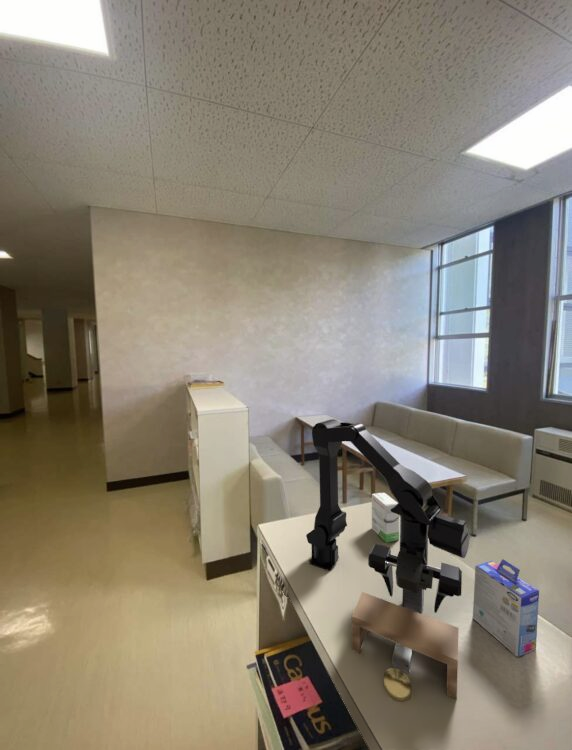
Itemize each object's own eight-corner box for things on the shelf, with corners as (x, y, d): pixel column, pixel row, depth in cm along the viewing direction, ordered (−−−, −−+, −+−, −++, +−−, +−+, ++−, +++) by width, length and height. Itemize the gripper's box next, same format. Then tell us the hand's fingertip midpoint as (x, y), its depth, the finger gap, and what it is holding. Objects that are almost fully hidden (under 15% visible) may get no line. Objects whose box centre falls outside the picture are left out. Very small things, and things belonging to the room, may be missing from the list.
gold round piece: (381, 695, 53) (381, 687, 53) (385, 671, 57) (386, 663, 57) (409, 708, 51) (409, 700, 51) (411, 682, 55) (411, 674, 55)
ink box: (399, 540, 96) (400, 503, 95) (385, 543, 94) (385, 505, 94) (384, 525, 104) (384, 491, 103) (370, 528, 103) (370, 493, 102)
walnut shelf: (352, 649, 61) (352, 616, 61) (362, 622, 67) (362, 591, 67) (456, 699, 52) (457, 660, 52) (457, 662, 58) (458, 627, 58)
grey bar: (389, 664, 58) (389, 629, 58) (405, 597, 74) (405, 569, 73) (412, 674, 56) (412, 638, 56) (423, 604, 72) (424, 575, 71)
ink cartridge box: (538, 650, 60) (541, 579, 59) (519, 660, 59) (522, 587, 57) (489, 610, 70) (491, 548, 69) (471, 618, 68) (473, 554, 67)
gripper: (361, 543, 66) (361, 612, 67) (462, 573, 57) (459, 652, 58) (374, 518, 76) (374, 579, 77) (462, 541, 67) (460, 609, 68)
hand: (412, 603), depth 70 cm, fingers open, 9 cm apart
